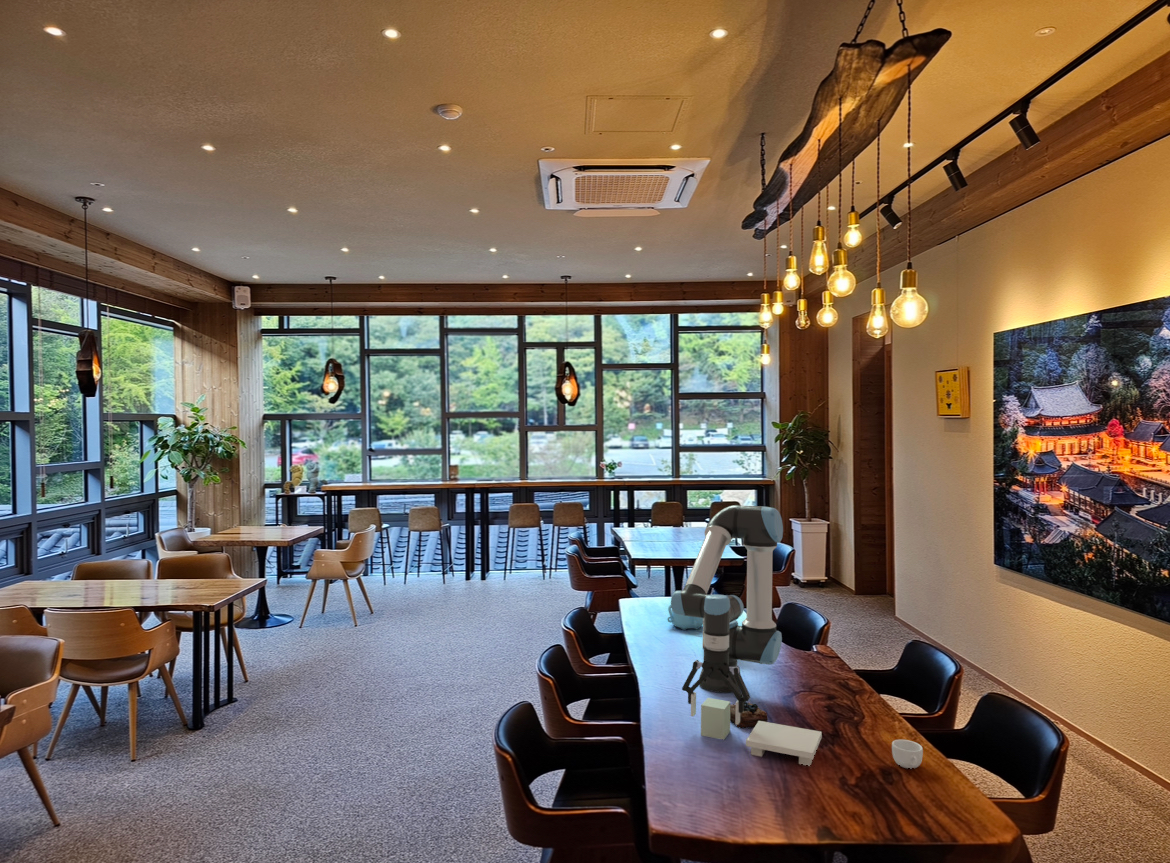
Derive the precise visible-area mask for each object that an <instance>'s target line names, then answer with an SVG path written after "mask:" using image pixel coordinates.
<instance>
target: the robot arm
mask: <svg viewBox="0 0 1170 863" xmlns="http://www.w3.org/2000/svg"><path fill="white" fill-rule="evenodd" d="M783 534H784V525H783V519H782V515H781V513H780V512H779V510H778V509H776V508H775V507H769V506H763V505H762V506H761V505H759V506H758V505H741V504H734V505H729V506H727V507H726V506H725V507H724V508H723V509H721V510H720V511H718V512H717V513H716V514H715V515H714V516H713V517H712V518H711V519H710V521H709V522H708V523H707V525H706V527H705V530H704V539H703V542H702V544H701V547H700V549H699V552H698V553H697V555H696V556H697V557H696V559H695V561H694V564H693V566H692V569H691V571H690V573H689V576H688V578H687V580H686V584H685V585H684V588H683V590H675V591H674V592H673V593H672V595H671V597H670V598H671V599H670V605H671V610H672V611H673V612H674V613H675V614H679V615H683V616H692V617H699V618H704V649H703V661H702V662H701V661H700V660H699V659H696V660H695V661H693V662H692V669H691V671H690V672H689V675H688V676H687V679H685V681H684V684H683V685H682V688H681V690H682V691H683V692H686V693H687V703H688V705H690V717H694V716H695V715H697V692H695V690H696V689H697V688H698V687H700V688H702V689H704V690H706V691H710V692H714V693H723V694H725V693H726V694H727V693H729V694H730V693H732V695H734V697H735V698H736V701H735V704H736V716H735V724H736V725H738V724H739V723H740V713H742V712H743V711H744V701H746V702H748V701H749V700H750V699H751V695H750V693H749V691H748V688H747V686H746V684H745V681H744V679H743V676H742V674H741V669H740V666H739V665H738V660H739V661H744V662H748V663H749V662H750V663H754V664H759V665H774V664H775V662H777V660H778V658H779V655H780V651H781V649H782V648H781V647H782V641H783V637H782V636H783V635H782V632H781V631H779V630H777V623H776V622H775V621H774V620H773V551H774V550H775V549H776V548H777V547H778V543H779V542H780V543H781V541H782V539H783ZM733 539H739V540H740V539H742V545H743V547H745V549H746V550H747V552H746V554H747V555H746V556H747V557H746V618H745V619H744V620H742V622H741V625H739V622H738V619H739V618H740V617H741V616H742V615H743V613H744V608H745V606H744V603H743V600H742V599H741V598H740V597H738V596H737V595H735V594H730V595H728V594H726V595H727V596H725V595H724V594H708V593H709V590H710V586H711V585H712V581H713V580H714V577H715V574H716V572H717V569H718V567H719V564H720V561H721V559H722V556H723V555H724V551H725V549H726V546H728V545H730V544H731V542H732V540H733ZM701 668H702V669H701ZM699 669H701V671H700V674H699V677H698V679H697V680H696V681H695V683H694V684H693V685H692V686H690V685H691V683H692V681H693V679H694V678H695V675H696V674H697V672H698V670H699ZM735 724H734V725H735ZM736 725H735V726H736Z"/></svg>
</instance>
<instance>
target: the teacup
mask: <svg viewBox="0 0 1170 863" xmlns="http://www.w3.org/2000/svg"><path fill="white" fill-rule="evenodd" d="M891 754H892V758H893V759H894V761H895V763H896V764H897V765H898V766H899V765H900V766H899V767H902V768H905V769H908V768H910V769H909V770H913V769H912V768H914V769H916V768H918V767H919V766H920V765H921V764H922V761H923V754H924V750H923V746H922V745H921V744H919V742H915V741H912V740H908V739H895V740H893V741H892V742H891Z"/></svg>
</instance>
